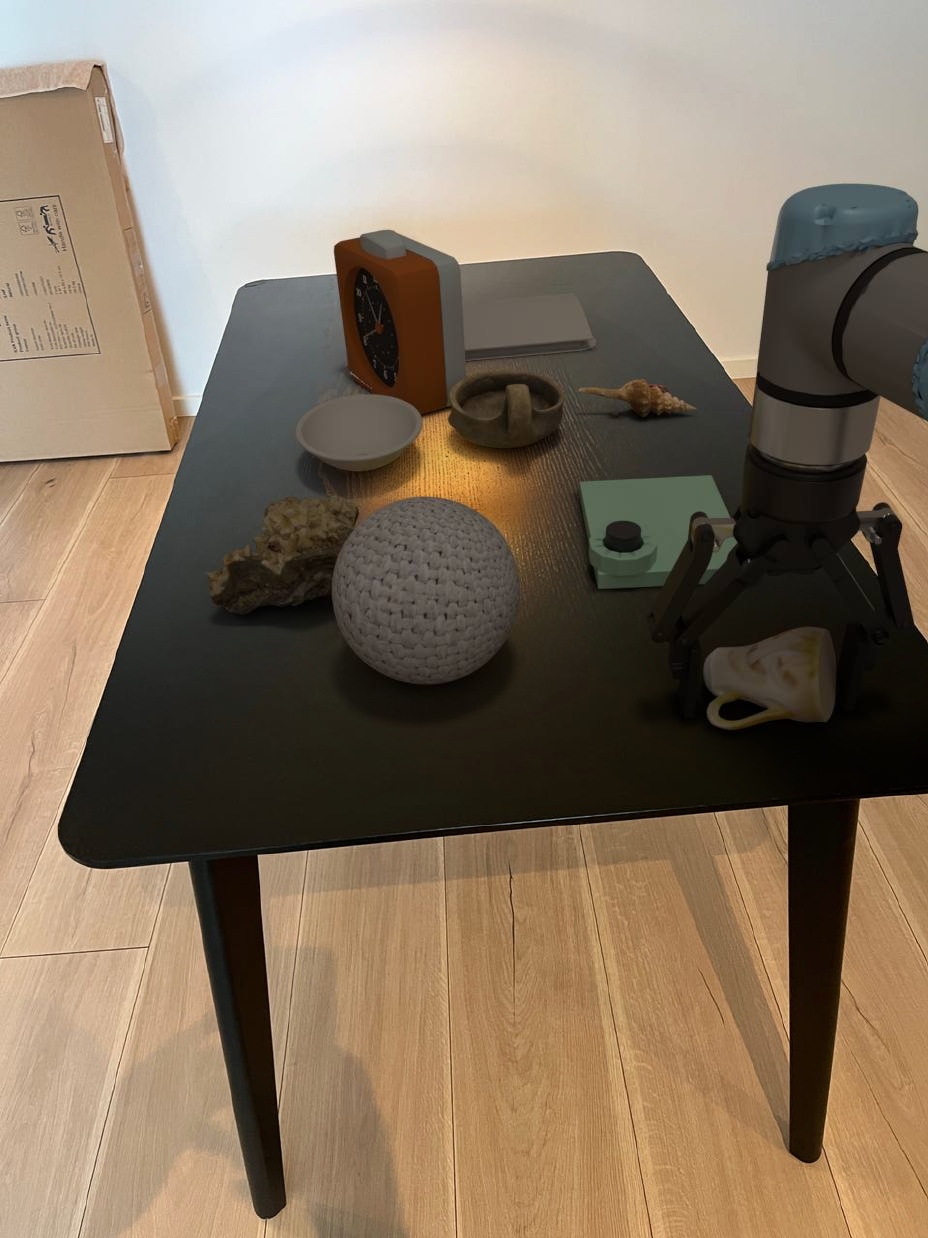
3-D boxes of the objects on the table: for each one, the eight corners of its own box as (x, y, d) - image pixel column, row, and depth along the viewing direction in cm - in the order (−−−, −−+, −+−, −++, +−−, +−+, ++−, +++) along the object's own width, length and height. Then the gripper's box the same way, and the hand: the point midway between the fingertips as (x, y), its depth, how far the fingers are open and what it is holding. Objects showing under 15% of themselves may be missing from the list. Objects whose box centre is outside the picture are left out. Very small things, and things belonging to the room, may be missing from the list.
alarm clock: (347, 377, 135) (327, 222, 123) (403, 363, 139) (389, 210, 127) (410, 422, 122) (394, 253, 110) (470, 405, 125) (461, 239, 113)
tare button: (642, 553, 89) (643, 537, 88) (607, 555, 89) (608, 538, 88) (637, 535, 91) (638, 519, 90) (603, 537, 91) (603, 521, 90)
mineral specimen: (259, 543, 100) (241, 455, 94) (382, 547, 98) (371, 457, 92) (210, 627, 88) (186, 533, 83) (348, 633, 87) (334, 537, 81)
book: (432, 327, 150) (430, 301, 148) (579, 314, 151) (580, 288, 149) (440, 363, 138) (438, 336, 135) (600, 349, 139) (601, 321, 136)
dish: (435, 491, 107) (432, 449, 104) (304, 508, 106) (297, 466, 103) (415, 425, 121) (412, 387, 118) (299, 439, 120) (293, 401, 117)
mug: (700, 663, 81) (776, 575, 75) (796, 740, 79) (881, 655, 73) (673, 697, 75) (754, 604, 69) (776, 782, 73) (867, 693, 67)
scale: (752, 585, 89) (756, 553, 87) (592, 593, 90) (593, 560, 87) (710, 489, 104) (713, 459, 102) (573, 495, 105) (574, 466, 103)
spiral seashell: (680, 401, 123) (683, 366, 121) (696, 416, 119) (698, 380, 116) (576, 414, 122) (576, 380, 119) (588, 430, 117) (588, 394, 115)
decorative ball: (548, 632, 85) (547, 479, 76) (477, 743, 74) (467, 579, 65) (396, 598, 90) (379, 451, 82) (310, 697, 80) (280, 540, 71)
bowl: (553, 410, 123) (553, 332, 117) (581, 473, 109) (582, 388, 103) (444, 420, 122) (439, 342, 116) (458, 485, 108) (453, 400, 102)
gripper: (969, 412, 66) (901, 665, 78) (615, 430, 66) (605, 678, 79) (1021, 464, 60) (938, 729, 72) (630, 483, 60) (617, 742, 73)
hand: (764, 703), depth 76 cm, fingers open, 11 cm apart
